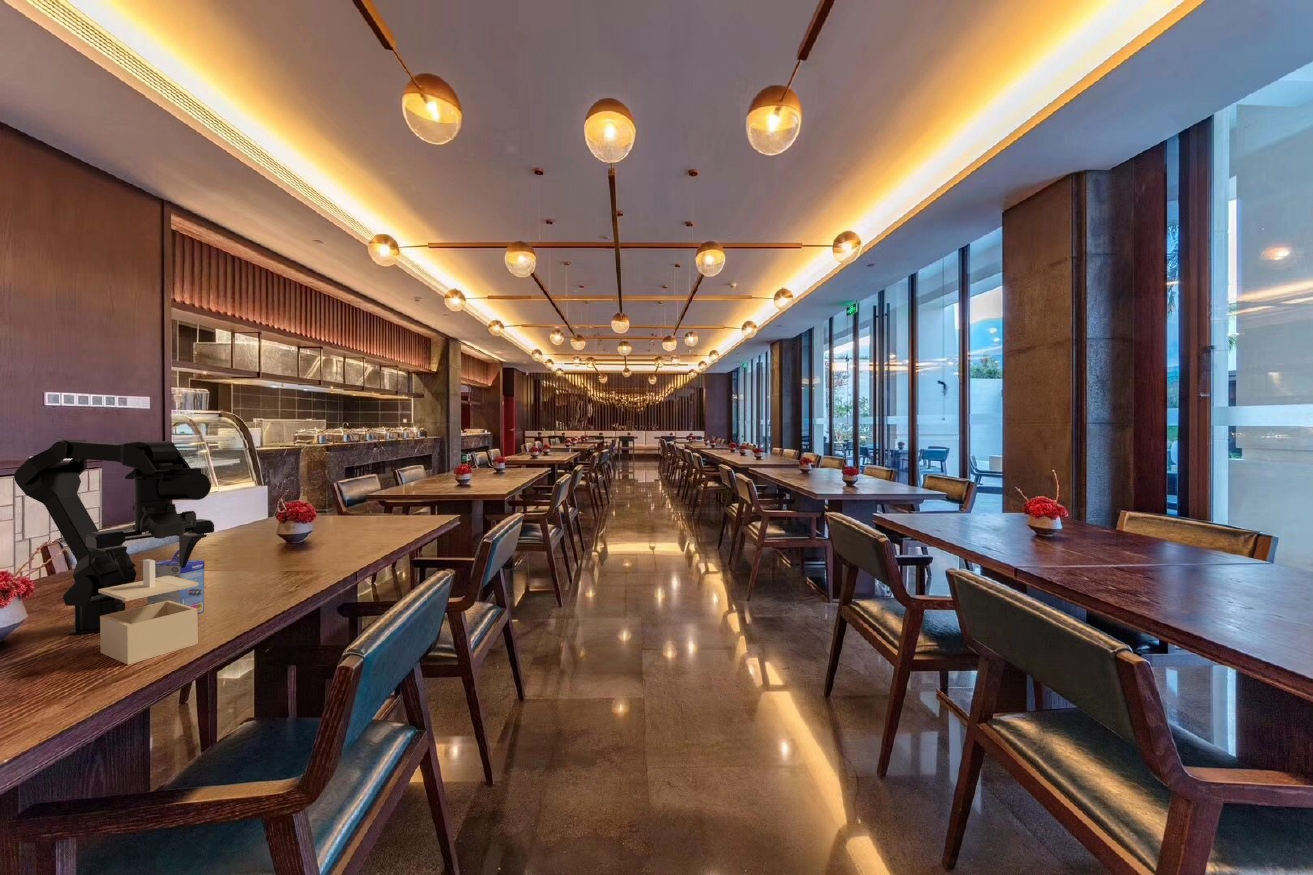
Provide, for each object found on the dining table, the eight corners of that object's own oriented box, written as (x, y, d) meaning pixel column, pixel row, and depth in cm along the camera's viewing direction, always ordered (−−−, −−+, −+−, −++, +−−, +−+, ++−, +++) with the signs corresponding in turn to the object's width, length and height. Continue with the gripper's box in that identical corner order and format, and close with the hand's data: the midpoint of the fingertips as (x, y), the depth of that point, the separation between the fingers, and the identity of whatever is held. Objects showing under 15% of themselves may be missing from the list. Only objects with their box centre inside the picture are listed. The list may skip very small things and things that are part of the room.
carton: (100, 652, 96) (100, 615, 96) (169, 633, 105) (168, 600, 105) (127, 664, 91) (127, 626, 91) (197, 643, 100) (197, 608, 100)
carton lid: (98, 592, 96) (97, 563, 96) (169, 578, 105) (169, 551, 105) (125, 601, 90) (125, 570, 90) (198, 585, 100) (198, 557, 100)
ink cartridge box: (206, 611, 118) (206, 549, 118) (180, 619, 113) (179, 555, 113) (173, 608, 120) (173, 548, 120) (146, 617, 115) (145, 553, 115)
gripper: (107, 508, 95) (108, 590, 95) (226, 496, 112) (227, 566, 112) (84, 504, 100) (85, 583, 100) (201, 494, 117) (202, 561, 117)
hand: (155, 573), depth 107 cm, fingers open, 9 cm apart
